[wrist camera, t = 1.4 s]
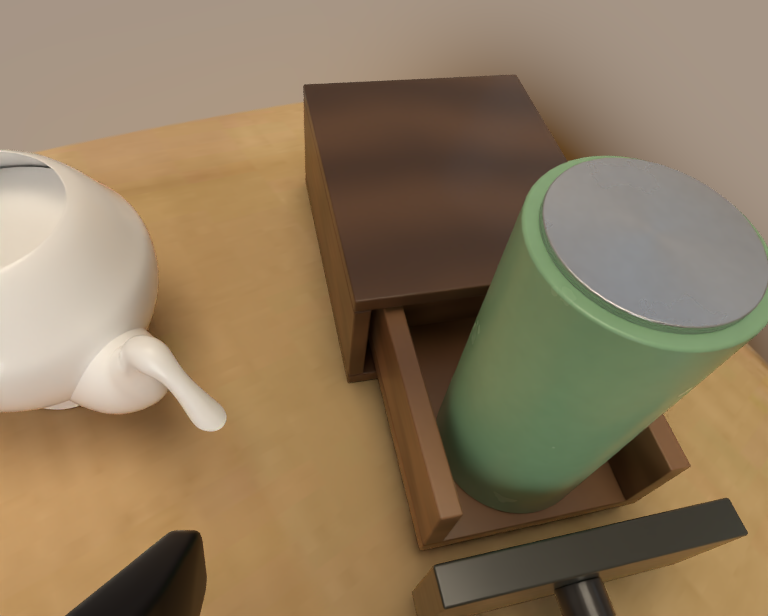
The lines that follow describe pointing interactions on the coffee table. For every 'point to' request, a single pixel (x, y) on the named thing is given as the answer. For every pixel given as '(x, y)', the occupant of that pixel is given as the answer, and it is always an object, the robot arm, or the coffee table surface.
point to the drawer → (532, 560)
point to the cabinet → (416, 191)
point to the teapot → (81, 299)
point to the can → (597, 325)
